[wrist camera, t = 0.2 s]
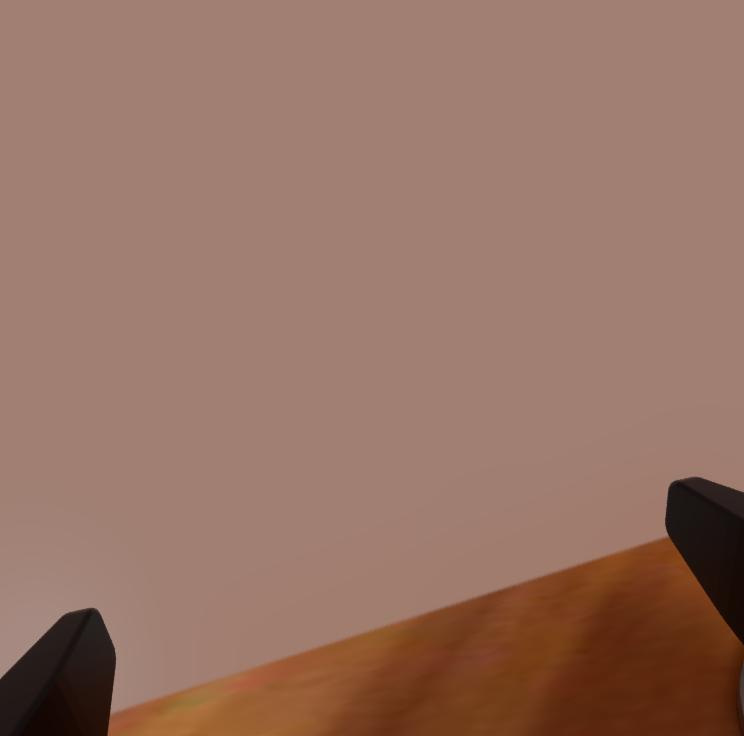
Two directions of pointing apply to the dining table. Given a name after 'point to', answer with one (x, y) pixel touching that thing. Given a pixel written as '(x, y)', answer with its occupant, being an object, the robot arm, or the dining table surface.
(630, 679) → the dining table surface
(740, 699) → the plate
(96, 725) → the robot arm
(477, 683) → the dining table surface
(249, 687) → the dining table surface
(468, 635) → the dining table surface
